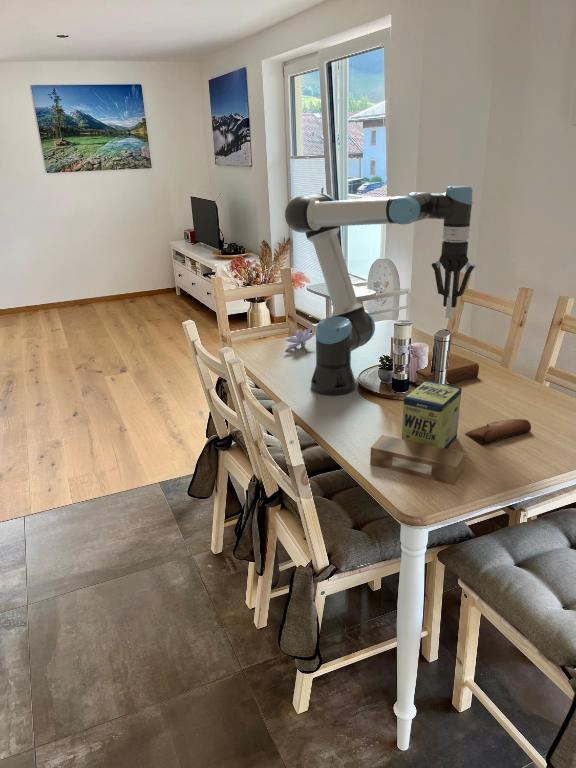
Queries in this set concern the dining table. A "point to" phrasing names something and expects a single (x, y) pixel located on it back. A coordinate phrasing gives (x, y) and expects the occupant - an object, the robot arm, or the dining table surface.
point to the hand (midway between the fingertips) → (448, 316)
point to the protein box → (432, 414)
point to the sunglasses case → (499, 430)
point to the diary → (451, 370)
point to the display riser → (418, 459)
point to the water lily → (300, 338)
